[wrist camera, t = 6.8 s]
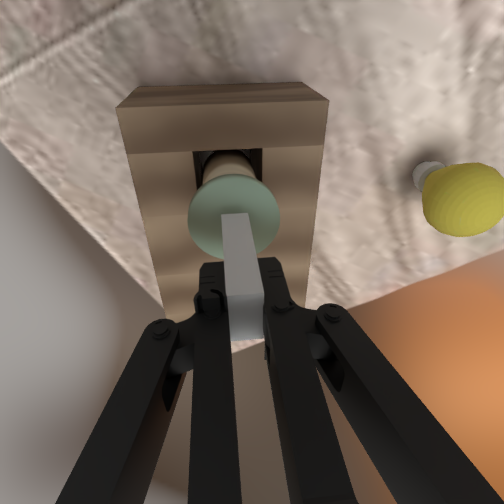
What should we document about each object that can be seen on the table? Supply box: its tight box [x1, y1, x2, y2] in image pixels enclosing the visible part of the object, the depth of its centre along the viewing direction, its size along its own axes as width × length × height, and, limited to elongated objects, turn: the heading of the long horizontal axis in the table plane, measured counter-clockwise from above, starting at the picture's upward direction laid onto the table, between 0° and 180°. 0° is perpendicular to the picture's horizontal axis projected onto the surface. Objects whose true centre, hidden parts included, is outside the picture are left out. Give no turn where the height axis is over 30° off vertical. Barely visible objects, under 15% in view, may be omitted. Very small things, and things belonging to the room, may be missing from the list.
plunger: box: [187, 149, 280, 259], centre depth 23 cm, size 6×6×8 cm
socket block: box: [115, 82, 329, 323], centre depth 31 cm, size 22×14×8 cm, turn 1°
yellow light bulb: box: [412, 161, 504, 237], centre depth 30 cm, size 7×7×10 cm
